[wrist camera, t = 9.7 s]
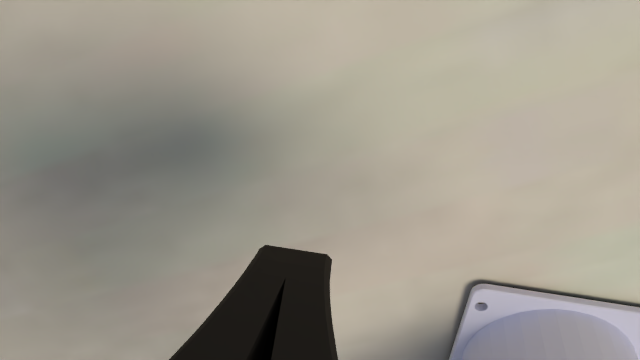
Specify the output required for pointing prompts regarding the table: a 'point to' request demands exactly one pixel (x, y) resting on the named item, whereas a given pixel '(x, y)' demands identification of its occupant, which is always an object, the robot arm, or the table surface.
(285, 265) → the robot arm
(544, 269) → the table surface
